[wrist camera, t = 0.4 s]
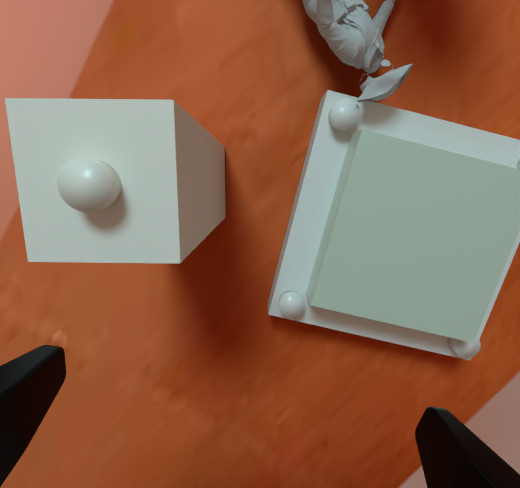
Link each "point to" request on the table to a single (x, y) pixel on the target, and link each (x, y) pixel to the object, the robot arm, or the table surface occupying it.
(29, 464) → the table surface
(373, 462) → the table surface
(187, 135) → the tall brick
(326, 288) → the studded pedestal base
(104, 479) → the table surface
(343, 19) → the soldier figure
